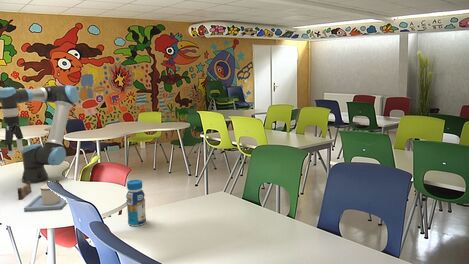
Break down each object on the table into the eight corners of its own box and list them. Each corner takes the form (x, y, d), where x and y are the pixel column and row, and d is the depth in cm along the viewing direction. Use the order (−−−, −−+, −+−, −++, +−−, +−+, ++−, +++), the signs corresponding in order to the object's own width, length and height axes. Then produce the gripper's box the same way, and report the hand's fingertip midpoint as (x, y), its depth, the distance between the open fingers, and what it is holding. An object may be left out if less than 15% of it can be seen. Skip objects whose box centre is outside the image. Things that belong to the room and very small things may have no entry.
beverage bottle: (126, 221, 186) (124, 180, 182) (145, 218, 189) (142, 177, 185) (128, 228, 178) (125, 185, 174) (147, 225, 181) (145, 182, 177)
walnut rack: (28, 191, 233) (27, 181, 231) (59, 190, 234) (58, 179, 233) (18, 199, 219) (17, 188, 218) (51, 198, 221) (50, 186, 220)
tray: (38, 198, 220) (38, 195, 220) (72, 196, 222) (72, 193, 222) (24, 211, 200) (23, 208, 200) (61, 209, 202) (61, 206, 202)
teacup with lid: (64, 201, 212) (62, 180, 210) (47, 206, 205) (45, 185, 203) (52, 197, 219) (49, 177, 217) (35, 202, 212) (33, 181, 210)
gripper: (12, 112, 230) (17, 148, 234) (-6, 119, 206) (0, 159, 210) (25, 112, 231) (30, 147, 235) (9, 119, 207) (15, 158, 211)
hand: (16, 153), depth 222 cm, fingers open, 13 cm apart
